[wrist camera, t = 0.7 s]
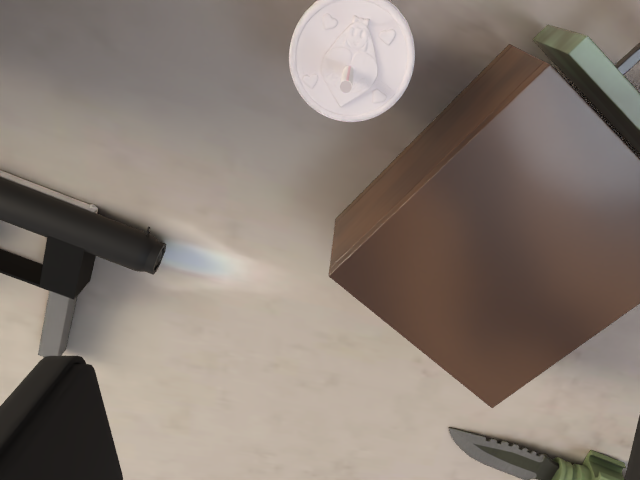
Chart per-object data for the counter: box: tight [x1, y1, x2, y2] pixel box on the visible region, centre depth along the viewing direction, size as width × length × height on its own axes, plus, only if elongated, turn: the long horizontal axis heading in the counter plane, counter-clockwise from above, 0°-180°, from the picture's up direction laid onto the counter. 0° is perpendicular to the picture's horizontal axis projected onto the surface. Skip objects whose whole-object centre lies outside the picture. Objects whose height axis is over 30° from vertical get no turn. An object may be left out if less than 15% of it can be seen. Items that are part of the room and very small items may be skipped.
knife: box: [449, 427, 626, 480], centre depth 49 cm, size 4×18×5 cm
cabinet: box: [329, 44, 640, 408], centre depth 37 cm, size 17×15×9 cm
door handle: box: [0, 170, 166, 357], centre depth 45 cm, size 3×20×16 cm
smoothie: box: [289, 0, 415, 122], centre depth 30 cm, size 6×6×14 cm
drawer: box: [533, 25, 640, 154], centre depth 35 cm, size 20×14×7 cm, turn 139°
